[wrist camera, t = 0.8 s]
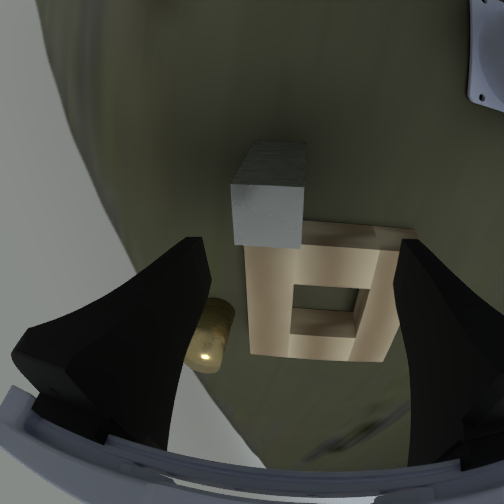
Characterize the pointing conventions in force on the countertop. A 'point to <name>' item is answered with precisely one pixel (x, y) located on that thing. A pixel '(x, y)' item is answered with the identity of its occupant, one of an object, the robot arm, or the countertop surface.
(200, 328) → the cylinder
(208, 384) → the countertop surface
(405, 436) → the countertop surface
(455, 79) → the countertop surface
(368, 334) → the socket block
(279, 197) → the square bit
